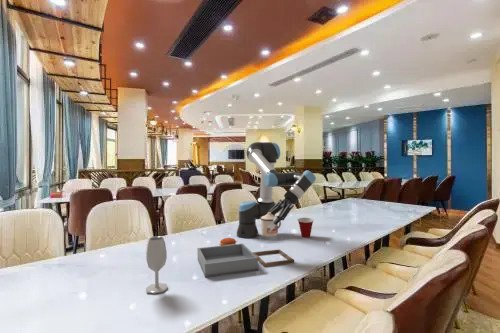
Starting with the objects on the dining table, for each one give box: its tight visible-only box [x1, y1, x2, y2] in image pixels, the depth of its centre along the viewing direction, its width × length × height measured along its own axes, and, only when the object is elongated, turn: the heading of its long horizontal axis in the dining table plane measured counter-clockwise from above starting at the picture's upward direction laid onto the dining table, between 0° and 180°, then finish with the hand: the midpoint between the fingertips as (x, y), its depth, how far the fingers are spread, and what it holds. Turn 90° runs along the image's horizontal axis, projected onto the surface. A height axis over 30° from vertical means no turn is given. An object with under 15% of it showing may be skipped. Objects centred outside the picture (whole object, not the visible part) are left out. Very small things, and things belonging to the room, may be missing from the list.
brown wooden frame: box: [251, 248, 295, 268], centre depth 153 cm, size 18×16×2 cm
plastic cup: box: [297, 217, 315, 239], centre depth 196 cm, size 11×11×12 cm
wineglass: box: [145, 235, 169, 295], centre depth 117 cm, size 9×9×21 cm
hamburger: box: [218, 237, 238, 246], centre depth 170 cm, size 9×10×7 cm
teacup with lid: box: [260, 212, 282, 238], centre depth 153 cm, size 12×9×12 cm
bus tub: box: [196, 243, 259, 278], centre depth 145 cm, size 25×25×6 cm
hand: (266, 226), depth 151 cm, fingers closed on teacup with lid, 9 cm apart
